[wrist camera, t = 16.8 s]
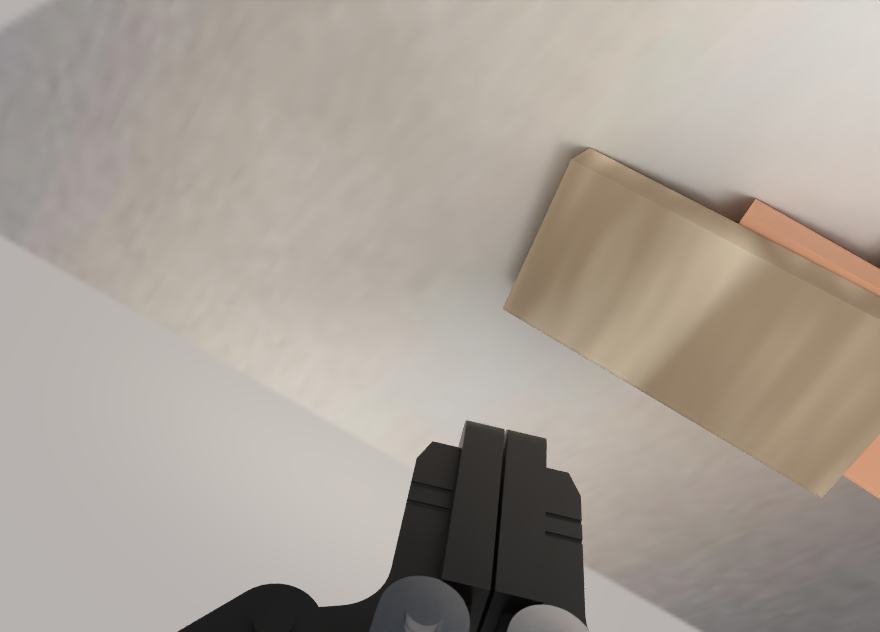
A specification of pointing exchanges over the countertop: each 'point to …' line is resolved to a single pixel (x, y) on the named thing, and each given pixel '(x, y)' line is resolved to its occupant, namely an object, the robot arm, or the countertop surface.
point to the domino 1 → (707, 319)
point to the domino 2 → (876, 465)
